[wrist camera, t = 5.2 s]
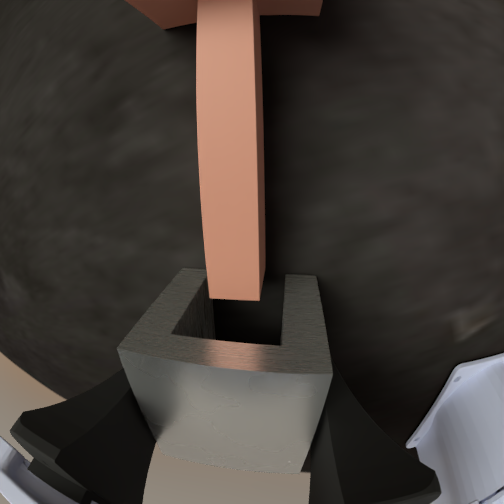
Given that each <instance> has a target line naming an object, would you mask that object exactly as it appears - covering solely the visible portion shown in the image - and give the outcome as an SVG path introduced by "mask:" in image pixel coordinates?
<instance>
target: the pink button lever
mask: <svg viewBox="0 0 504 504" xmlns="http://www.w3.org/2000/svg"><path fill="white" fill-rule="evenodd" d="M125 1H127V2H128V3H129V4H131V5H132V6H134V7H135V8H136V9H138V10H139V11H140V12H142V13H143V14H144V15H146V16H147V17H148V18H150V19H151V20H152V21H153V22H155V23H156V24H157V25H158V26H160V27H161V28H162V29H163V30H164V29H168V28H173V27H177V26H182V25H187V24H192V23H197V46H196V95H197V135H198V159H199V178H200V195H201V209H202V223H203V235H204V247H205V258H206V268H207V278H208V288H209V297H210V298H213V299H231V300H254V301H260V295H261V290H262V284H263V279H264V273H265V182H264V132H263V95H262V64H261V37H260V15H308V16H319V14H320V10H321V6H322V2H323V0H125Z"/></svg>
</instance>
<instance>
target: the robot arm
mask: <svg viewBox="0 0 504 504" xmlns="http://www.w3.org/2000/svg"><path fill="white" fill-rule="evenodd" d="M330 358H331V364H332V371H333V376H332V380H331V383H330V387H329V390H328V394H327V397H326V400H325V403H324V407H323V410H322V413H321V416H320V419H319V422H318V425H317V428H316V431H315V434H314V437H313V439H312V442H311V445H310V447H311V478H310V494H309V504H504V353H502V354H499V355H495V356H491V357H487V358H484V359H479V360H475V361H471V362H467V363H462V364H459V365H458V366H456V367H455V368H454V370H453V371H452V373H451V375H450V377H449V379H448V381H447V382H446V384H445V386H444V388H443V389H442V391H441V393H440V394H439V396H438V398H437V399H436V401H435V402H434V404H433V406H432V407H431V409H430V410H429V412H428V413H427V415H426V416H425V418H424V419H423V421H422V422H421V424H420V425H419V426H418V428H417V429H416V431H415V432H414V433H413V435H412V436H411V437H410V439H409V440H408V441H407V443H406V448H413V447H416V448H417V452H418V456H419V460H420V461H419V460H417V459H416V458H414V457H413V456H412V455H410V454H409V453H408V452H406V451H405V450H404V449H402V448H401V447H400V446H399V445H398V444H397V443H396V442H395V441H393V440H392V439H391V438H390V437H389V436H388V435H387V434H386V433H385V432H384V431H383V430H382V429H381V428H380V427H379V426H378V425H377V424H376V423H375V422H374V420H373V419H372V418H371V417H370V416H369V415H368V413H367V412H366V411H365V410H364V408H363V407H362V406H361V404H360V403H359V402H358V400H357V399H356V398H355V396H354V395H353V393H352V392H351V390H350V389H349V387H348V385H347V384H346V382H345V381H344V379H343V377H342V376H341V374H340V372H339V370H338V368H337V367H336V365H335V363H334V361H333V359H332V357H331V354H330ZM10 433H11V435H12V436H13V437H14V438H15V440H16V441H17V442H18V443H19V444H20V445H21V446H22V447H23V448H24V449H25V450H26V451H27V452H28V453H29V454H31V455H32V456H33V457H34V459H33V460H32V462H31V463H30V462H29V461H28V460H26V459H25V458H24V456H22V455H21V454H20V453H19V452H18V451H17V450H16V449H15V448H14V447H13V446H11V445H10V444H9V443H8V442H7V441H6V440H4V439H3V438H2V437H1V436H0V493H2V495H3V496H4V497H5V498H6V499H7V500H8V501H9V502H10V504H142V502H143V494H144V488H145V483H146V478H147V473H148V469H149V465H150V461H151V457H152V454H153V450H154V447H155V443H156V440H155V438H154V436H153V434H152V432H151V430H150V428H149V426H148V424H147V422H146V420H145V418H144V416H143V414H142V411H141V409H140V407H139V405H138V402H137V400H136V398H135V395H134V393H133V391H132V388H131V386H130V383H129V381H128V378H127V375H126V373H125V370H124V368H123V369H121V370H120V371H119V372H117V373H116V374H114V375H113V376H111V377H110V378H109V379H107V380H106V381H104V382H102V383H101V384H99V385H97V386H96V387H94V388H92V389H90V390H88V391H86V392H84V393H82V394H80V395H78V396H75V397H73V398H71V399H69V400H66V401H63V402H61V403H58V404H55V405H51V406H48V407H44V408H40V409H35V410H30V411H25V412H23V413H22V415H21V416H20V417H19V418H18V420H17V421H16V423H15V424H14V425H13V427H12V428H11V430H10Z"/></svg>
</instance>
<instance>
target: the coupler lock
mask: <svg viewBox="0 0 504 504" xmlns="http://www.w3.org/2000/svg"><path fill="white" fill-rule="evenodd" d="M117 350H118V353H119V356H120V359H121V362H122V365H123V367H124V370H125V373H126V375H127V378H128V381H129V383H130V386H131V388H132V391H133V393H134V395H135V398H136V400H137V402H138V405H139V407H140V409H141V411H142V414H143V416H144V418H145V420H146V422H147V424H148V426H149V428H150V430H151V432H152V434H153V436H154V438H155V440H156V442H157V444H158V446H159V448H160V450H161V451H162V453H163V455H166V456H170V457H174V458H178V459H182V460H186V461H191V462H196V463H201V464H206V465H211V466H217V467H223V468H230V469H237V470H245V471H255V472H267V473H288V474H299V473H300V471H301V468H302V466H303V463H304V461H305V458H306V456H307V453H308V450H309V448H310V445H311V442H312V439H313V437H314V434H315V431H316V428H317V425H318V422H319V419H320V416H321V413H322V410H323V407H324V403H325V400H326V397H327V394H328V390H329V387H330V383H331V380H332V376H333V371H332V364H331V358H330V351H329V345H328V339H327V333H326V327H325V321H324V315H323V310H322V305H321V299H320V294H319V289H318V284H317V279H316V275H295V274H286V275H285V290H284V305H283V318H282V331H281V343H280V346H277V345H262V344H249V343H238V342H228V341H219V340H216V338H215V326H214V312H213V298H210V297H209V288H208V278H207V269H195V268H183V269H182V270H181V271H180V272H179V273H178V274H177V275H176V277H175V278H174V279H173V280H172V281H171V283H170V284H169V285H168V286H167V287H166V288H165V290H164V291H163V292H162V293H161V294H160V296H159V297H158V298H157V299H156V300H155V302H154V303H153V304H152V305H151V306H150V308H149V309H148V310H147V311H146V312H145V314H144V315H143V316H142V317H141V319H140V320H139V321H138V322H137V324H136V325H135V326H134V327H133V328H132V330H131V331H130V332H129V333H128V335H127V336H126V337H125V338H124V340H123V341H122V342H121V343H120V345H119V346H118V347H117Z"/></svg>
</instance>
